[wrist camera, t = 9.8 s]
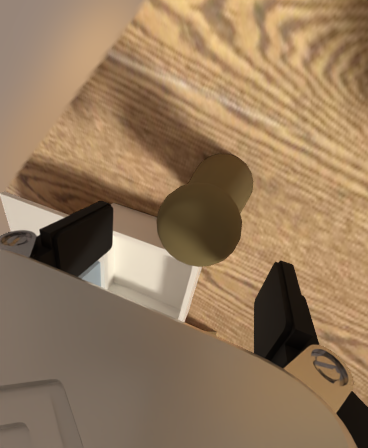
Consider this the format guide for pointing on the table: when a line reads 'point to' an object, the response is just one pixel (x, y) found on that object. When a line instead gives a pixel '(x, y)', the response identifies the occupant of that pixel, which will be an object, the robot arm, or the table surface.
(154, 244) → the white hollow box
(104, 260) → the lid
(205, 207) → the cork
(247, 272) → the table surface
